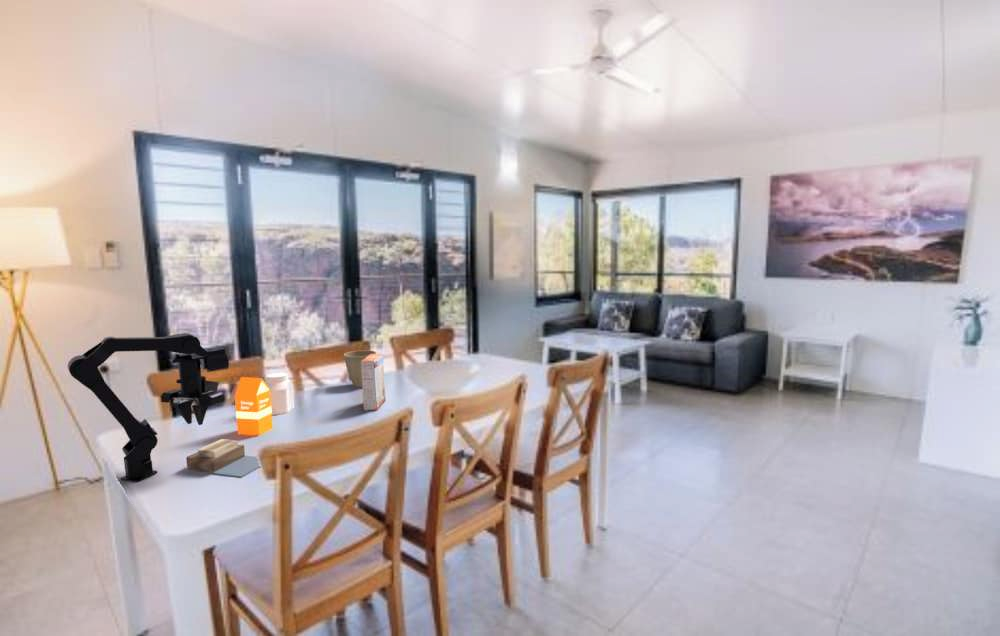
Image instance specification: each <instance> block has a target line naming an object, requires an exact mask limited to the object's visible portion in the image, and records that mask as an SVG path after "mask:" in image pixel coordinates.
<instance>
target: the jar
mask: <svg viewBox="0 0 1000 636" xmlns="http://www.w3.org/2000/svg"><path fill="white" fill-rule="evenodd" d="M265 379H266V382H265V383H266V385H267V387H268V388H269V390H270V398H271V410H272V416H277V415H279V416H280V415H284V414H288V413H289V412H290V411H292V410H294V409H295V402H294V401H295V399H294V384H293V382H292V381H291V380H289V374H288V372H274V373H269V374H267V375H266V376H265Z"/></svg>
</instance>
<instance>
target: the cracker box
mask: <svg viewBox="0 0 1000 636" xmlns="http://www.w3.org/2000/svg"><path fill="white" fill-rule="evenodd" d="M384 363H385V362H384V354H383V353H376V354H370V355H369V356H367V357H366V358H365V359H363V360H362V361H361V373H362V387H361V388H362V400H363V401H362V402H363V411H378V410H379V408H380V407H382V405H383V404H384V403H385V402H386V382H385V366H384Z"/></svg>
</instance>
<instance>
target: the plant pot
mask: <svg viewBox="0 0 1000 636" xmlns="http://www.w3.org/2000/svg"><path fill="white" fill-rule="evenodd" d="M370 354H377V352H376V351H374V350H366V349H365V350H364V349H363V350H353V351H347V352H345V353H344V354H343V357H344V358H343V359H344V362H345V367H346V370H347V374H348V376H349V378H350V381H351V383H352V385H353V387H354V388H359V389H360V388H362V373H361V361H362V360H363V359H365V358H366V357H367V356H369V355H370Z"/></svg>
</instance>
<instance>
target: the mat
mask: <svg viewBox="0 0 1000 636" xmlns="http://www.w3.org/2000/svg"><path fill="white" fill-rule="evenodd" d="M257 457H258V456H251V455H245V456H244V457H242V458H241V459H239V460H237V461H235V462H233V463H231V464H229V465H227V466H225V467H223V468H222V469H220V470H218V471H216V472H214V473H212V474H213V475H218V476H225V477H234V478H244V477H245V476H247V475H250V473H253V472H254V471H256V470H257V469H260V468H261V467H260V466H259V463H258V459H257Z"/></svg>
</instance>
